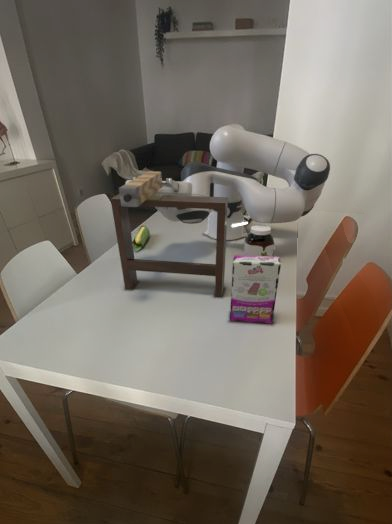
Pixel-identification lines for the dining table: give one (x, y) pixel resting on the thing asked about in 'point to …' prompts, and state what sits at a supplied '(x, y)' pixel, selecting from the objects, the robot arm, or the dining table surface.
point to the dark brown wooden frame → (135, 265)
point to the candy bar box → (254, 288)
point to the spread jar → (259, 241)
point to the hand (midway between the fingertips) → (151, 180)
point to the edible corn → (140, 237)
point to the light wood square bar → (140, 189)
